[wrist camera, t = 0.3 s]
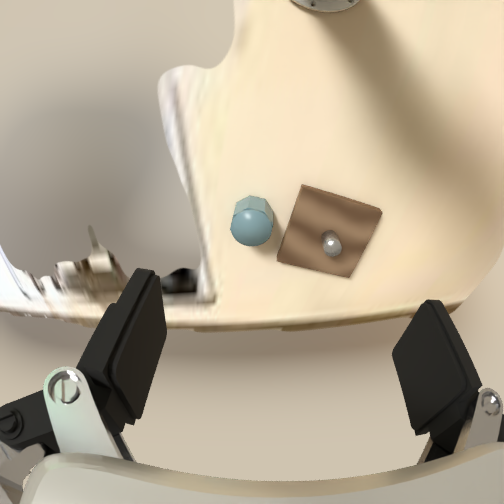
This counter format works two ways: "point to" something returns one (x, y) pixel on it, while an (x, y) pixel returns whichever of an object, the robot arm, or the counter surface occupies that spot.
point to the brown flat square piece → (320, 220)
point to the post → (331, 243)
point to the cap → (252, 221)
